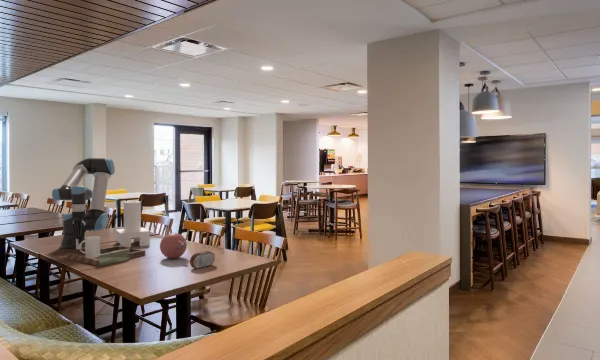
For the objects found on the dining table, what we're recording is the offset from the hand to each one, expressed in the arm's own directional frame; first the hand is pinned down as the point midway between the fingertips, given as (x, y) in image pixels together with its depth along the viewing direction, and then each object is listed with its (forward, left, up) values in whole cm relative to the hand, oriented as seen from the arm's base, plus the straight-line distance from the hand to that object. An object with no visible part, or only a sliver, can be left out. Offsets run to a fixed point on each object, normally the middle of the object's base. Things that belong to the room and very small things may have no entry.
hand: (78, 248), depth 244 cm
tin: (+85, +19, -4) cm, 87 cm away
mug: (+11, 0, -4) cm, 11 cm away
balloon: (+58, +24, -4) cm, 63 cm away
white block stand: (0, +38, -4) cm, 39 cm away
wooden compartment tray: (+20, +6, -4) cm, 21 cm away
